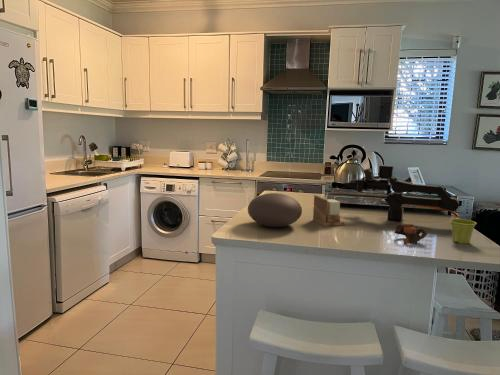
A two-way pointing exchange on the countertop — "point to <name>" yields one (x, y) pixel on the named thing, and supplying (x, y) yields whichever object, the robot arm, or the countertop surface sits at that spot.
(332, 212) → the cream upright block
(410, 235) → the pottery mug
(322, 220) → the walnut key housing
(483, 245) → the countertop surface
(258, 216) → the flattened ellipsoid
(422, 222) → the countertop surface
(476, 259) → the countertop surface
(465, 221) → the plant pot
